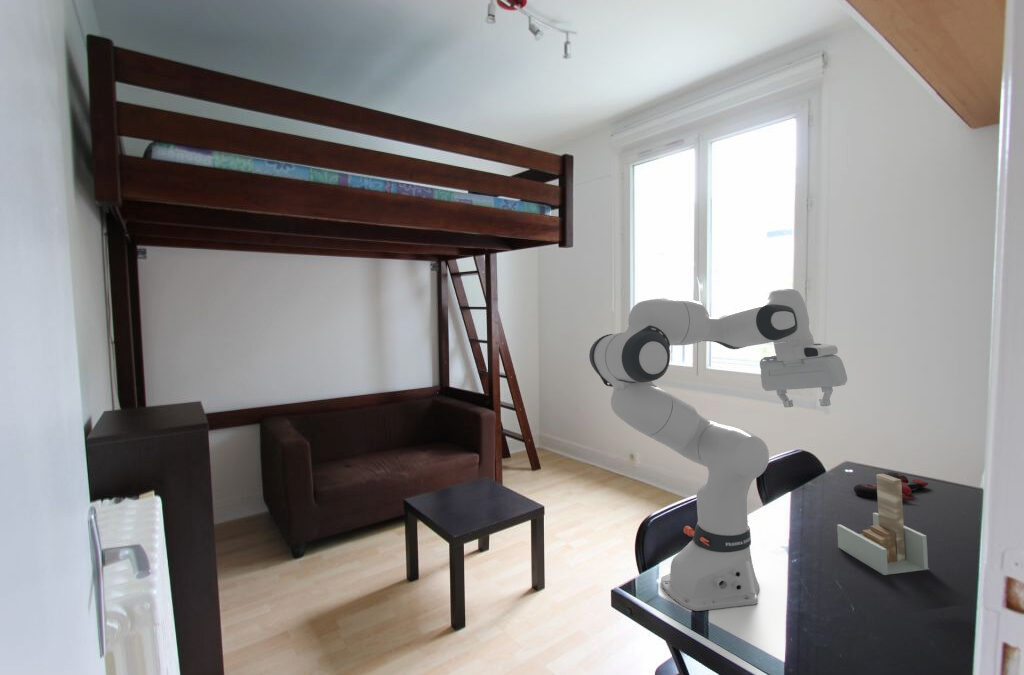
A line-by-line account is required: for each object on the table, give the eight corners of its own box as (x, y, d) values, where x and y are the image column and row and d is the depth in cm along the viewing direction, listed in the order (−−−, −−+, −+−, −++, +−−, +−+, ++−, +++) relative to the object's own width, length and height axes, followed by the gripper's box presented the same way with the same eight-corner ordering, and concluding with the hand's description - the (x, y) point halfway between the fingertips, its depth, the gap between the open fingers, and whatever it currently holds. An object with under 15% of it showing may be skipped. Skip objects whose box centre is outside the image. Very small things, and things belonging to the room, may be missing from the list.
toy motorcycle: (851, 499, 162) (906, 505, 148) (847, 483, 163) (903, 488, 149) (887, 484, 174) (941, 489, 160) (884, 469, 175) (938, 473, 161)
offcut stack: (875, 565, 116) (873, 537, 116) (855, 553, 122) (853, 526, 122) (898, 562, 116) (896, 534, 116) (877, 551, 122) (875, 524, 122)
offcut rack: (884, 581, 112) (882, 541, 112) (838, 552, 126) (836, 517, 125) (929, 575, 113) (927, 535, 113) (879, 547, 127) (877, 512, 126)
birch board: (897, 561, 117) (893, 480, 116) (880, 551, 122) (876, 474, 121) (905, 560, 117) (901, 479, 116) (887, 550, 122) (883, 473, 121)
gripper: (751, 358, 129) (761, 409, 128) (828, 347, 111) (841, 407, 110) (766, 356, 132) (776, 405, 131) (844, 345, 114) (856, 403, 113)
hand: (806, 406), depth 120 cm, fingers open, 8 cm apart
